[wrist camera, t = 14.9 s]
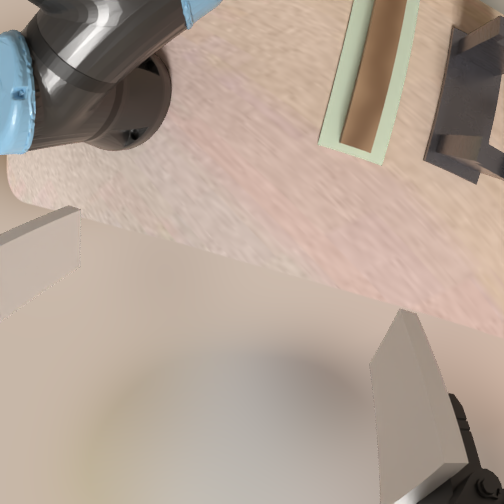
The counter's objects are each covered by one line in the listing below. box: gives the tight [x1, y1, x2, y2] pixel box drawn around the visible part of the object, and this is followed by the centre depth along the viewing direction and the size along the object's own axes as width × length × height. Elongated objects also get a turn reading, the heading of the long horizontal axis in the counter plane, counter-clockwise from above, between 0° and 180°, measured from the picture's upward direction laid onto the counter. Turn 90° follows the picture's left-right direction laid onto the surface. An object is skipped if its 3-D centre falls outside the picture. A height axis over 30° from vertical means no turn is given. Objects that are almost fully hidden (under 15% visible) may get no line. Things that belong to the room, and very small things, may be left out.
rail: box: [339, 0, 407, 153], centre depth 28 cm, size 3×22×3 cm, turn 166°
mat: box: [318, 0, 420, 166], centre depth 30 cm, size 8×24×1 cm, turn 167°
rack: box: [423, 15, 504, 185], centre depth 24 cm, size 8×19×12 cm, turn 167°
